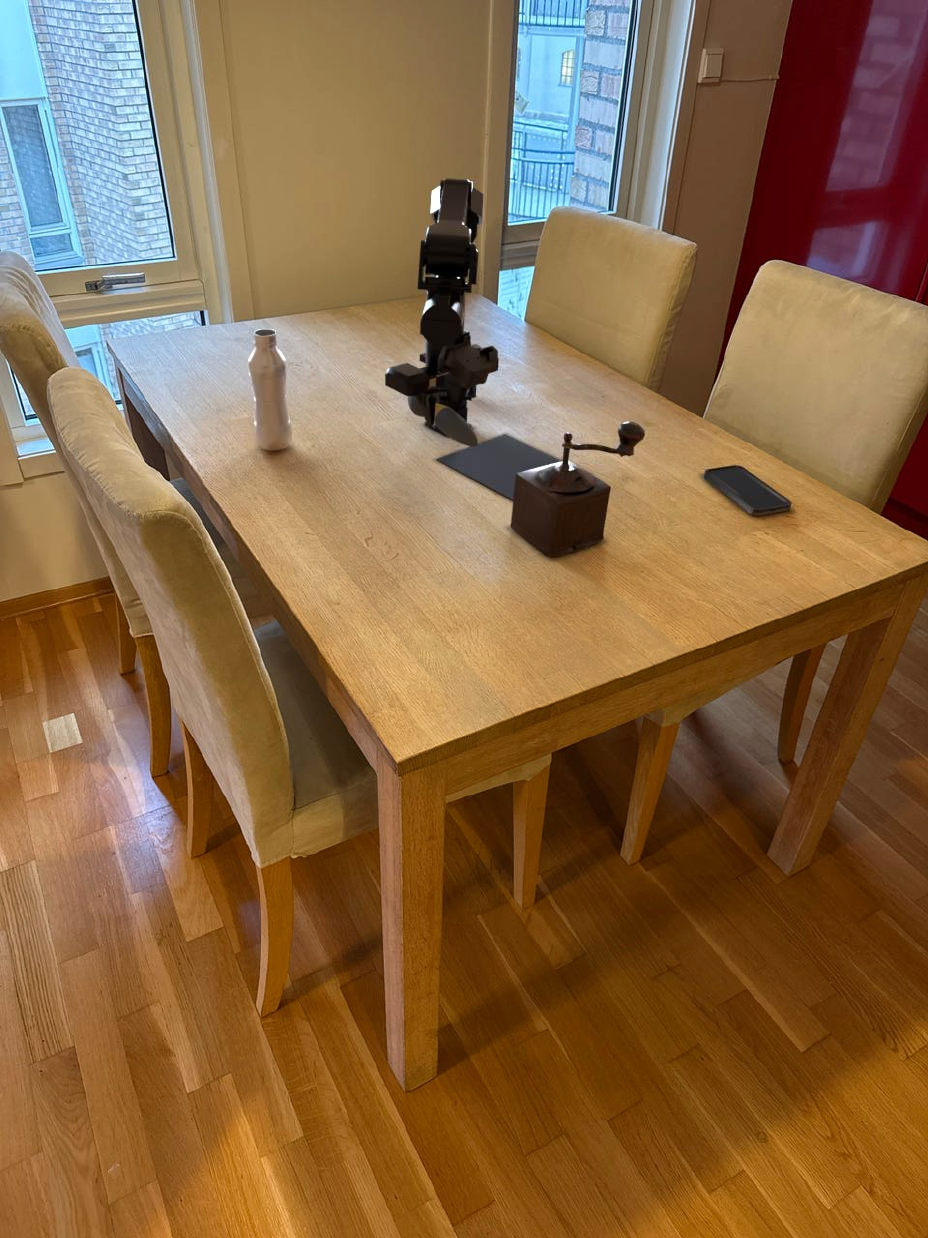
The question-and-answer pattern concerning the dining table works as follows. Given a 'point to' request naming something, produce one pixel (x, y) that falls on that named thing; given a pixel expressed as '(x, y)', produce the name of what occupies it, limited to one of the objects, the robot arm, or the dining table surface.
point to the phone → (747, 490)
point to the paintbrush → (448, 422)
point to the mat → (497, 462)
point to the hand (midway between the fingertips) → (441, 421)
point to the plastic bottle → (269, 392)
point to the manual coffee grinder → (566, 499)
